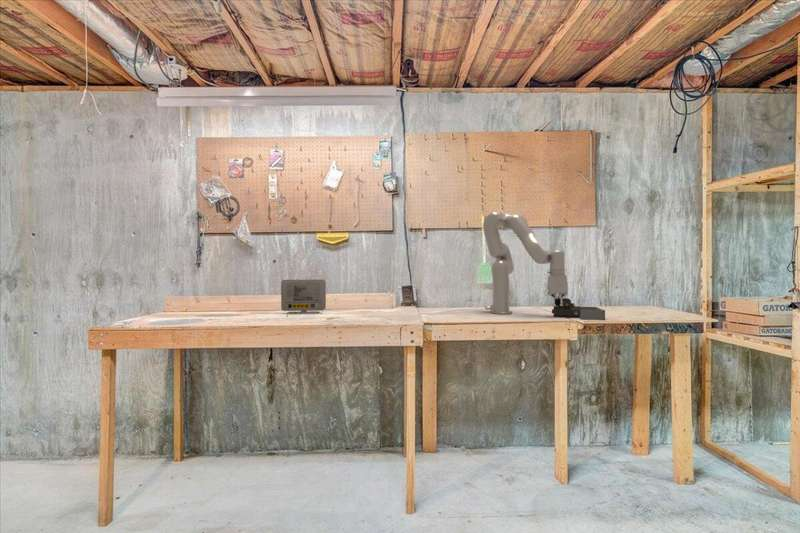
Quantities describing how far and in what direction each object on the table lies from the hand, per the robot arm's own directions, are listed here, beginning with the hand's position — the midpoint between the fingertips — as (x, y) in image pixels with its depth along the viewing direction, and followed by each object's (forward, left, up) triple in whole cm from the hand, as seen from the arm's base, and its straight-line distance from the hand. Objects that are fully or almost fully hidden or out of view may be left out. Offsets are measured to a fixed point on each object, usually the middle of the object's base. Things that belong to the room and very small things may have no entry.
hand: (557, 305), depth 229 cm
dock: (+16, 0, -6) cm, 17 cm away
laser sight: (+8, 0, -7) cm, 11 cm away
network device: (-145, -11, -6) cm, 146 cm away
